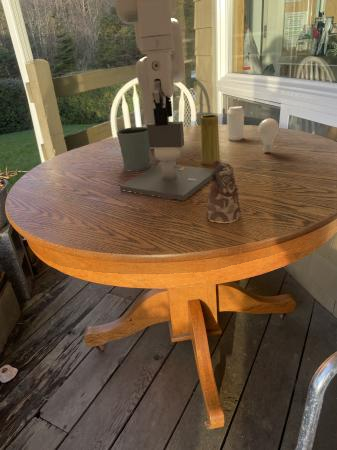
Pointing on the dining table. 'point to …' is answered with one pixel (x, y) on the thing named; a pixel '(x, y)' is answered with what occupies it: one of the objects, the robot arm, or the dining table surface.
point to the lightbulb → (268, 133)
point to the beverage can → (235, 123)
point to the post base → (169, 180)
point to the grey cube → (166, 140)
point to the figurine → (223, 194)
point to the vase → (209, 139)
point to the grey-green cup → (135, 148)
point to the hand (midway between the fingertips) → (164, 120)
